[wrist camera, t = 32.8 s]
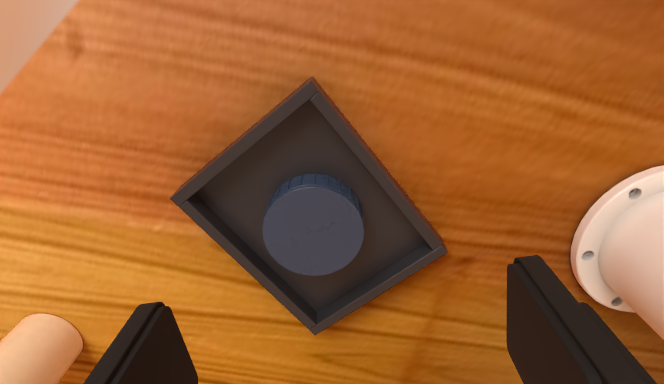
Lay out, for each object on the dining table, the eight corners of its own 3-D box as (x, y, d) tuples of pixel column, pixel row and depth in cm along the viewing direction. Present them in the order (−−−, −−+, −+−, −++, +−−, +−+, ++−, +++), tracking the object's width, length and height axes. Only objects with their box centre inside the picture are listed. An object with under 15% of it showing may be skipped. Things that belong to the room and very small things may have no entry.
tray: (441, 237, 31) (448, 252, 29) (316, 317, 35) (315, 335, 33) (312, 75, 26) (310, 80, 24) (180, 186, 30) (169, 198, 28)
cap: (275, 261, 32) (270, 280, 29) (258, 177, 29) (252, 192, 26) (365, 253, 31) (368, 272, 29) (358, 167, 28) (360, 181, 26)
